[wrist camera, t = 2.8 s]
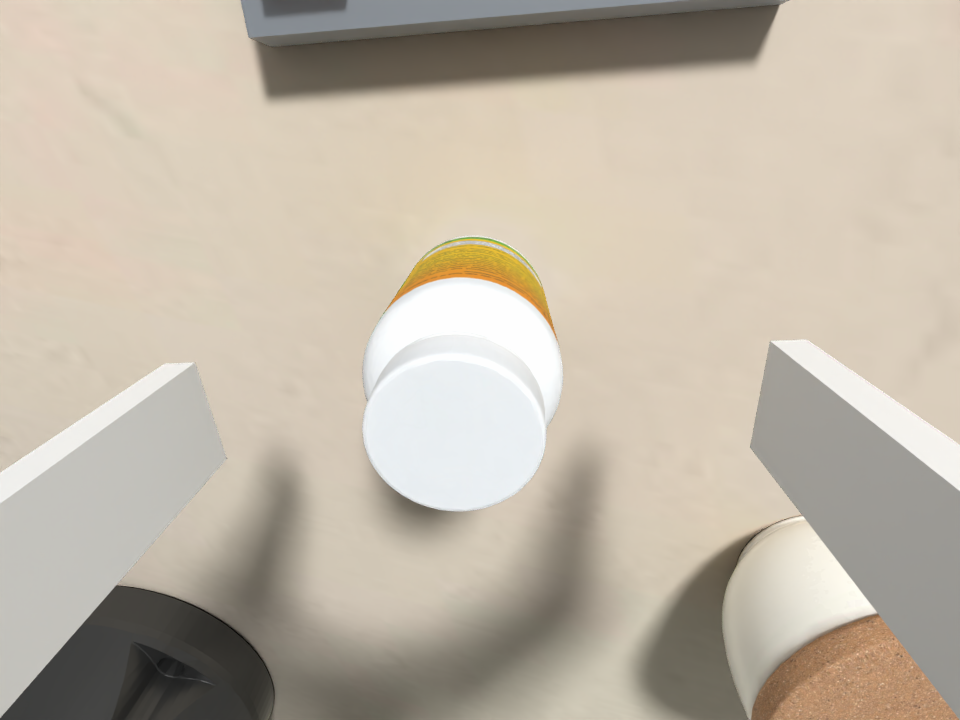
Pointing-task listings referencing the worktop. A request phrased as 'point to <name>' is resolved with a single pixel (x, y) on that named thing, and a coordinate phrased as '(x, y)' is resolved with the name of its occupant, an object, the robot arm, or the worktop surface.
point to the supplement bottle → (462, 377)
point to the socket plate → (440, 16)
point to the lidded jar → (815, 638)
